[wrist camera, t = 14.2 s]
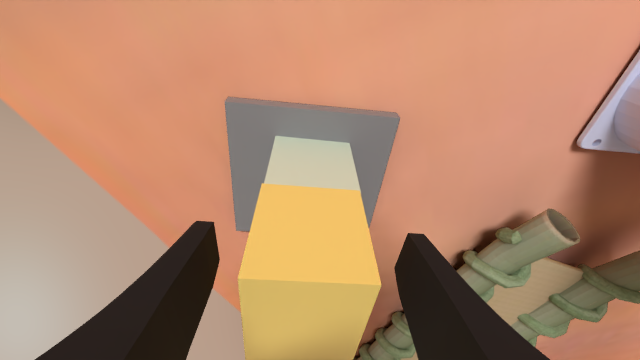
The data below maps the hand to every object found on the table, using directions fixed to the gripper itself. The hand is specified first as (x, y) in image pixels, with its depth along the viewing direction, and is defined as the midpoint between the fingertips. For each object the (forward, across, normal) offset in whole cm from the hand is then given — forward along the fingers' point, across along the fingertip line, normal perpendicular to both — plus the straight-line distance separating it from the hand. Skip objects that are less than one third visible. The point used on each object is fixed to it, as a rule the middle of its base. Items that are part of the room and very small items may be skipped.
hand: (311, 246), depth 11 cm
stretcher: (+9, -16, +24) cm, 30 cm away
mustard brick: (+3, 0, +2) cm, 4 cm away
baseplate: (+9, 0, +3) cm, 9 cm away
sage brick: (+8, 0, +2) cm, 8 cm away
